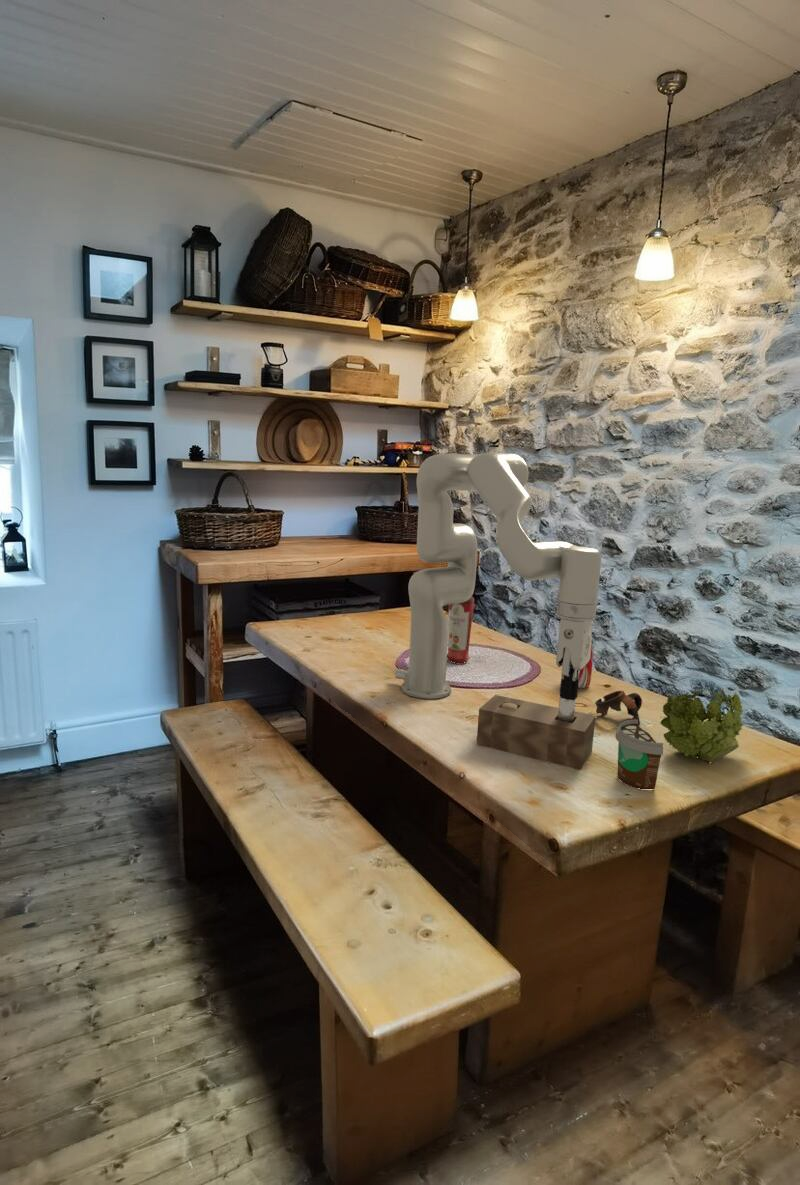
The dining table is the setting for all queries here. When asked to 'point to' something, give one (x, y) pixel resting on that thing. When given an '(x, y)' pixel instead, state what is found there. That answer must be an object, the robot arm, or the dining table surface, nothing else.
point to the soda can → (586, 672)
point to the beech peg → (509, 706)
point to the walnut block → (536, 732)
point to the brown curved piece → (614, 702)
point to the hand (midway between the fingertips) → (568, 697)
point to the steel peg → (566, 710)
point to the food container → (637, 756)
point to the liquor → (460, 630)
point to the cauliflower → (702, 725)
